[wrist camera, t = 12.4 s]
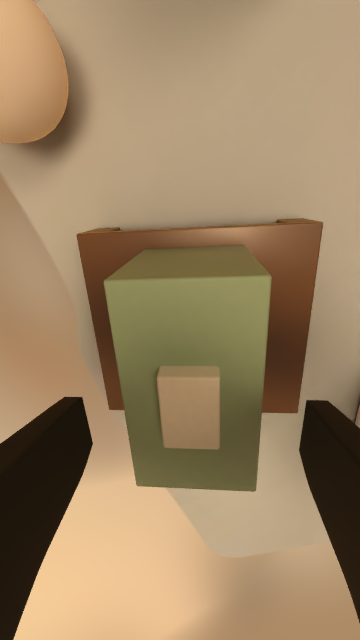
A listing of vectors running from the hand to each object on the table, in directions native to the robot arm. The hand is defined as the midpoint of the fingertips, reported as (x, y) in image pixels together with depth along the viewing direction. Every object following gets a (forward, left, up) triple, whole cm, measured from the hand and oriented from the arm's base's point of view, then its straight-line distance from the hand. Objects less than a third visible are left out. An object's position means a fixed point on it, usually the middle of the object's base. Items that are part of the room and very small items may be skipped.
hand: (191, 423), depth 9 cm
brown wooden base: (0, 0, -10) cm, 10 cm away
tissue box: (0, 0, -7) cm, 7 cm away
